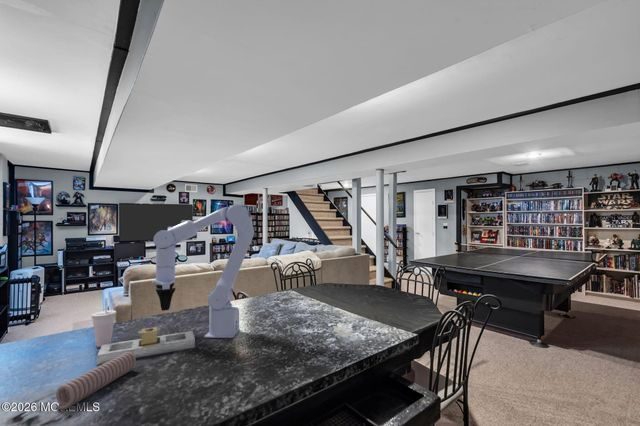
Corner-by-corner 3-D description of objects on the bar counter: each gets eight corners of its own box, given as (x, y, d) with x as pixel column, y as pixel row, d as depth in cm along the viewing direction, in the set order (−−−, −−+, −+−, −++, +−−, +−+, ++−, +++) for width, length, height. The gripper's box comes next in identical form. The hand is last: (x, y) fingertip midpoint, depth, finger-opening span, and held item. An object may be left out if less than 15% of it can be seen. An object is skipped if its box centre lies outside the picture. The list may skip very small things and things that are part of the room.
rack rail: (192, 338, 99) (192, 330, 99) (194, 347, 92) (194, 338, 92) (102, 353, 88) (102, 344, 88) (97, 364, 81) (97, 355, 81)
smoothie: (120, 342, 96) (121, 297, 96) (98, 350, 90) (99, 302, 91) (107, 339, 99) (108, 295, 99) (85, 346, 93) (86, 300, 93)
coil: (122, 351, 79) (50, 387, 62) (138, 350, 78) (69, 386, 61) (123, 369, 79) (51, 411, 61) (139, 368, 78) (71, 410, 60)
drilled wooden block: (159, 346, 93) (160, 326, 93) (159, 351, 89) (160, 329, 89) (138, 350, 90) (138, 329, 90) (137, 355, 87) (137, 333, 87)
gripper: (152, 264, 107) (151, 303, 106) (151, 269, 94) (151, 314, 94) (174, 263, 110) (174, 301, 110) (177, 268, 97) (176, 311, 97)
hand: (165, 307), depth 102 cm, fingers open, 7 cm apart
